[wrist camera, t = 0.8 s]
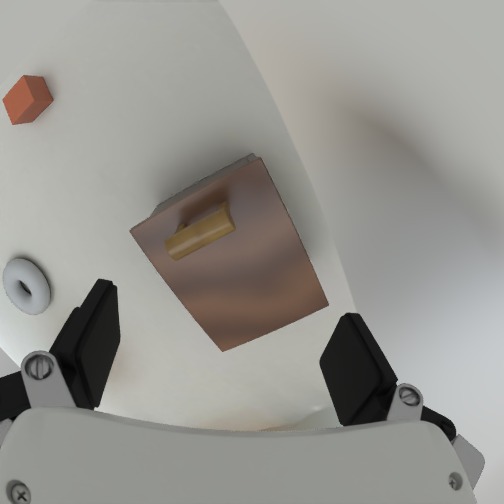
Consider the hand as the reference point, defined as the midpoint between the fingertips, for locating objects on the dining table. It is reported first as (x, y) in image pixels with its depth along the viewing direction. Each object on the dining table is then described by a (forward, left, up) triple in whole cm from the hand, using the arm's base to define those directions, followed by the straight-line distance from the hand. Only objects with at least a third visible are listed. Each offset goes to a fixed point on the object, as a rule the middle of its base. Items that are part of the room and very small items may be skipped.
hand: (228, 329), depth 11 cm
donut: (+20, -28, -24) cm, 42 cm away
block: (-8, -27, -24) cm, 37 cm away
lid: (+5, +2, -15) cm, 16 cm away
